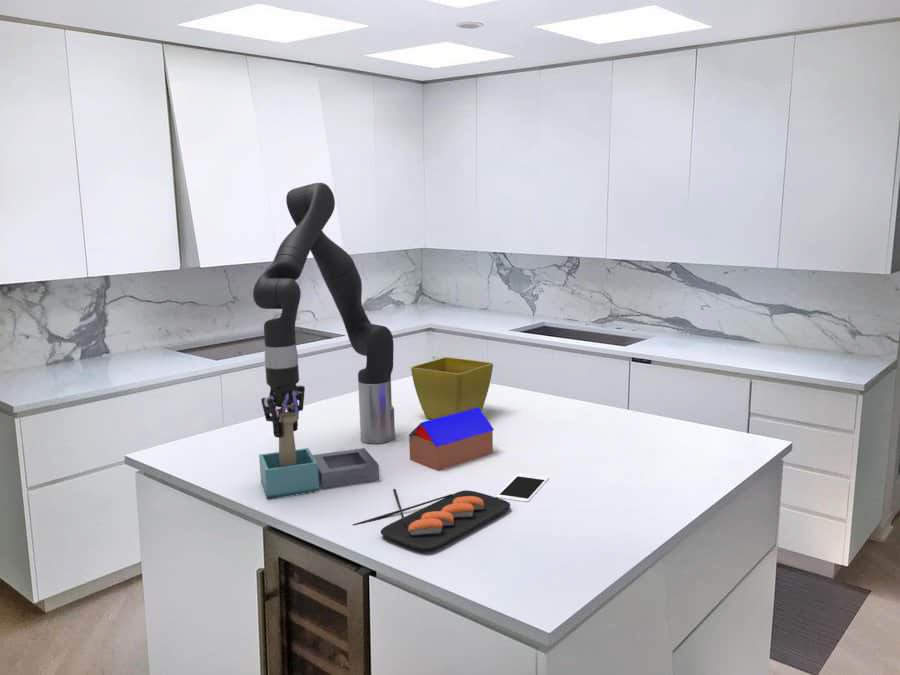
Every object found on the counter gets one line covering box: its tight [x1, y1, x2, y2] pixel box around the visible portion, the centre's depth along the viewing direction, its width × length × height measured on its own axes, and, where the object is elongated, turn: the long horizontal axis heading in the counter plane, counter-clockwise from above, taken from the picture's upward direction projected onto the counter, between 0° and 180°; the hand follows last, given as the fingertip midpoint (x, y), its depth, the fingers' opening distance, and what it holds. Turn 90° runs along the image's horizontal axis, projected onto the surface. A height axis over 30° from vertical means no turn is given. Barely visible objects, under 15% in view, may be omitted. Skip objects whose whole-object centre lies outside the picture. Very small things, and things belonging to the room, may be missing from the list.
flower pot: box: [410, 356, 494, 420], centre depth 236 cm, size 19×19×17 cm
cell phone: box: [495, 473, 550, 503], centre depth 178 cm, size 8×16×1 cm, turn 155°
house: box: [407, 407, 495, 472], centre depth 199 cm, size 12×20×12 cm, turn 131°
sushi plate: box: [352, 488, 511, 551], centre depth 164 cm, size 29×30×4 cm
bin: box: [258, 447, 320, 500], centre depth 181 cm, size 12×12×7 cm
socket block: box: [312, 447, 380, 490], centre depth 188 cm, size 14×14×4 cm
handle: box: [277, 411, 300, 467], centre depth 180 cm, size 5×6×15 cm
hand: (286, 433), depth 179 cm, fingers closed on handle, 5 cm apart
